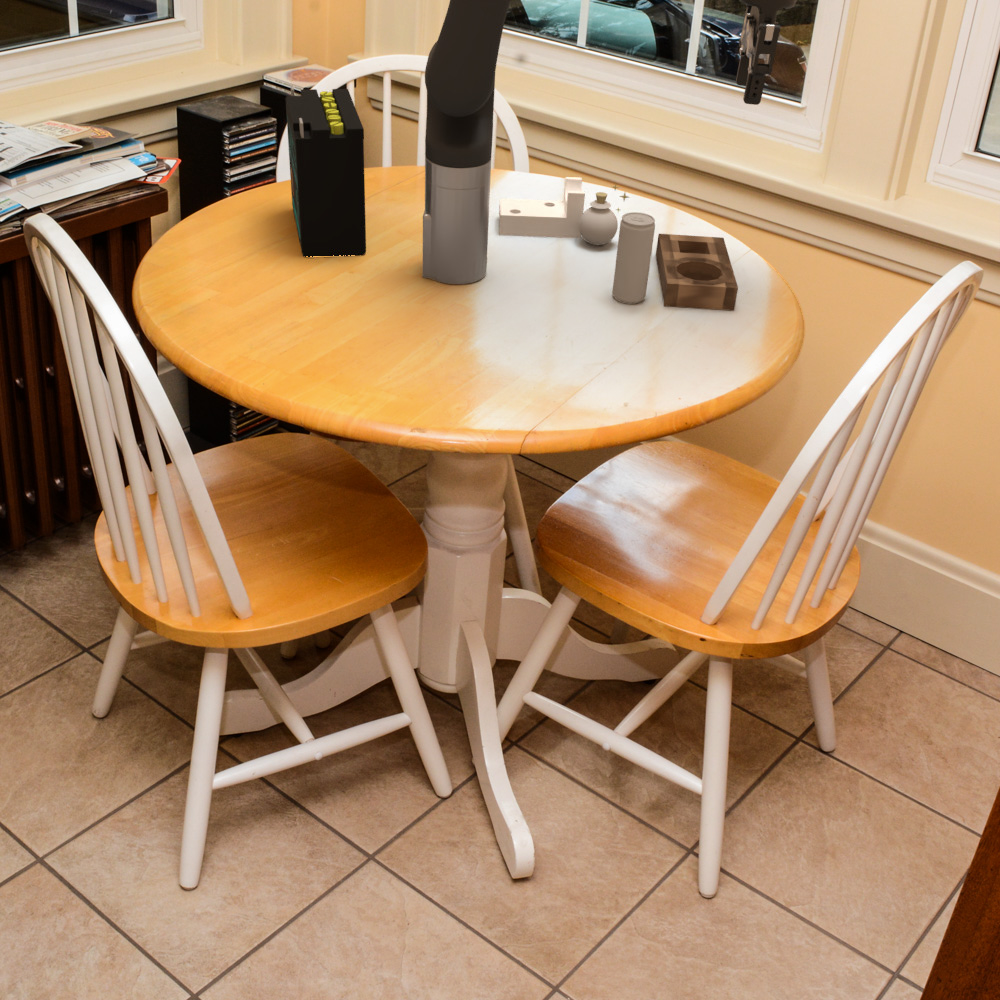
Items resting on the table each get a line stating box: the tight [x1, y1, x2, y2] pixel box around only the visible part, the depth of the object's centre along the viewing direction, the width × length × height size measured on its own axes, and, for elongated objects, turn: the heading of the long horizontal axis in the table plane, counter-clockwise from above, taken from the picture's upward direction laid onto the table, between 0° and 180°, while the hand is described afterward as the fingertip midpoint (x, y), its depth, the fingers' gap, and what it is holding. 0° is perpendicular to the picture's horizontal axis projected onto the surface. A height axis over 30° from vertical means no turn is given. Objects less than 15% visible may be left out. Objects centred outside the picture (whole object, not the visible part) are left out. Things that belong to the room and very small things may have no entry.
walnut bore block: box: [655, 233, 739, 312], centre depth 166 cm, size 10×18×4 cm, turn 178°
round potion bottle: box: [579, 183, 630, 246], centre depth 174 cm, size 6×7×10 cm
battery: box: [285, 84, 367, 258], centre depth 170 cm, size 19×10×20 cm, turn 13°
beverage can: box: [611, 211, 656, 305], centre depth 158 cm, size 5×5×12 cm
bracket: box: [498, 176, 586, 239], centre depth 179 cm, size 13×7×8 cm, turn 91°
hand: (747, 94), depth 151 cm, fingers open, 8 cm apart
